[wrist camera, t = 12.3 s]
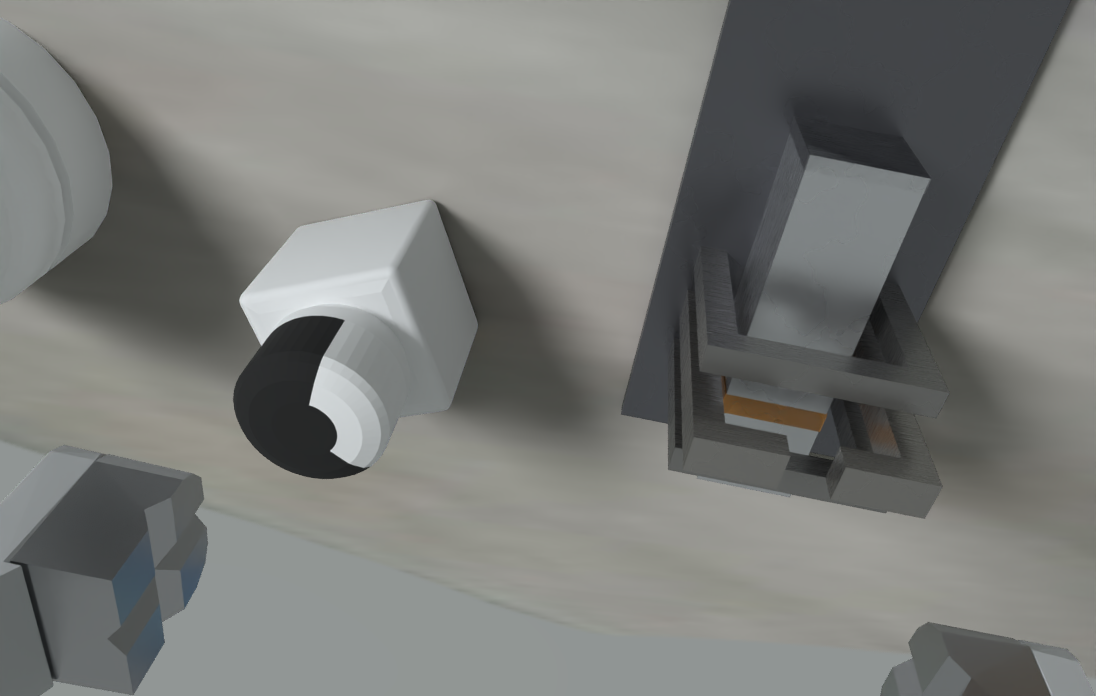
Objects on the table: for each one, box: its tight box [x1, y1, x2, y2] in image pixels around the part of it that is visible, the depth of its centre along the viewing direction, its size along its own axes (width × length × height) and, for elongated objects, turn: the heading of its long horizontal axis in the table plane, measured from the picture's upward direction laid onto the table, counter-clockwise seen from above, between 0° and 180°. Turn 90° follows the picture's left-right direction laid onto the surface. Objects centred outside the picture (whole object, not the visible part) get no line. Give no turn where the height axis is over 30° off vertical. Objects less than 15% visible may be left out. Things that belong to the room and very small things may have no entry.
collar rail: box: [621, 0, 1071, 519], centre depth 32 cm, size 27×12×11 cm, turn 171°
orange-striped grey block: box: [697, 116, 931, 497], centre depth 37 cm, size 16×4×4 cm, turn 171°
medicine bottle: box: [233, 200, 478, 479], centre depth 37 cm, size 7×7×12 cm
